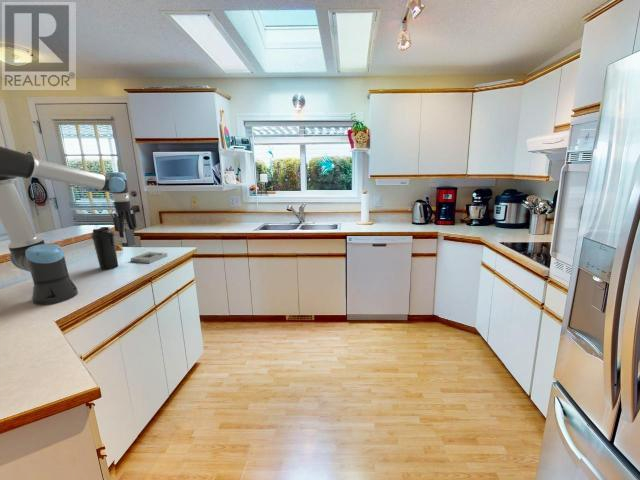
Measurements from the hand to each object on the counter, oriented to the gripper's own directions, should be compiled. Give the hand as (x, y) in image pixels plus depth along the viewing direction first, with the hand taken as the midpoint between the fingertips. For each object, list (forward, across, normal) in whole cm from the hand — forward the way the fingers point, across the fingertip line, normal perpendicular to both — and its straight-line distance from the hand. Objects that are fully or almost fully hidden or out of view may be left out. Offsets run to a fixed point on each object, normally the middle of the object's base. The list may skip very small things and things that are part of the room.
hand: (128, 241), depth 170 cm
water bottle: (+14, -7, +9) cm, 18 cm away
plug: (+2, 0, 0) cm, 2 cm away
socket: (+14, +12, -1) cm, 18 cm away
